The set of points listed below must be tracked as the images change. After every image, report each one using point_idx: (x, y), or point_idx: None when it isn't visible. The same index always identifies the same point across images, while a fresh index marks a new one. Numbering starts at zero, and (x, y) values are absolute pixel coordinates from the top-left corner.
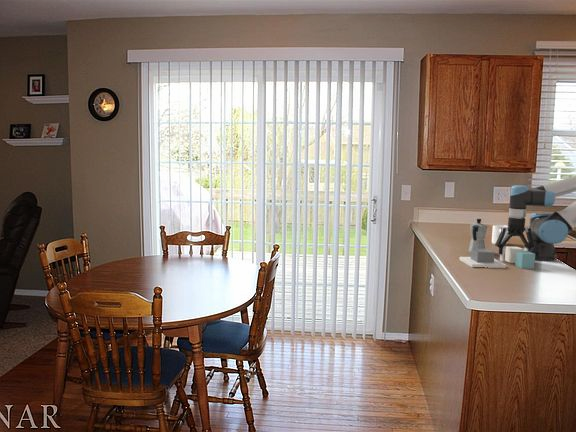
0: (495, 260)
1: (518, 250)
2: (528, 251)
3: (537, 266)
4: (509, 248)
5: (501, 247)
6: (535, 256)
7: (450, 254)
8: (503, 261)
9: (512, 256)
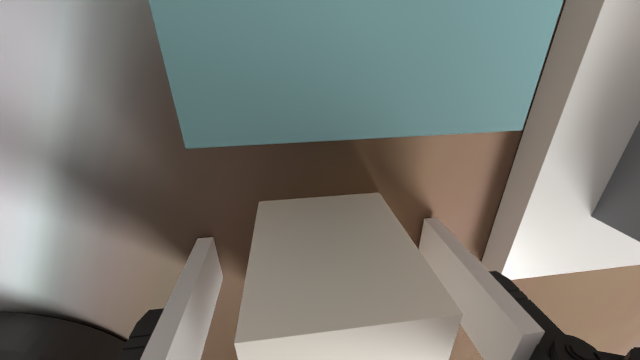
0: (569, 158)
1: (329, 305)
2: (205, 115)
3: (126, 43)
4: (444, 353)
5: (583, 346)
6: (68, 357)
7: (615, 350)
8: (425, 219)
9: (385, 232)
